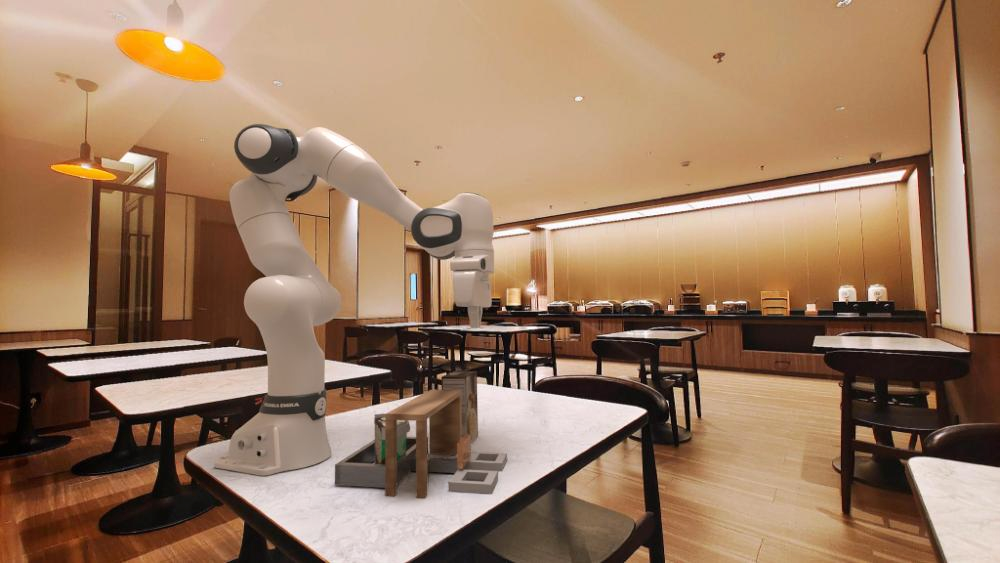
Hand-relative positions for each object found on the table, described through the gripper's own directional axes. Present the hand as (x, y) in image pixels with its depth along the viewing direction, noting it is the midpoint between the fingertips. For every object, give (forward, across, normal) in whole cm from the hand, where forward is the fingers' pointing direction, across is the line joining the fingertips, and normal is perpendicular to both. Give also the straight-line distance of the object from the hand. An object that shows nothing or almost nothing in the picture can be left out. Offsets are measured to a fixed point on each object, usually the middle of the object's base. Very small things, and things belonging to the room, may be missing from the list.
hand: (475, 327), depth 91 cm
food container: (+27, +12, -14) cm, 33 cm away
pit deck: (+27, +11, +3) cm, 29 cm away
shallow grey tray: (+27, +11, -10) cm, 31 cm away
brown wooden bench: (+27, +11, -7) cm, 30 cm away
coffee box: (+27, -8, -6) cm, 29 cm away
